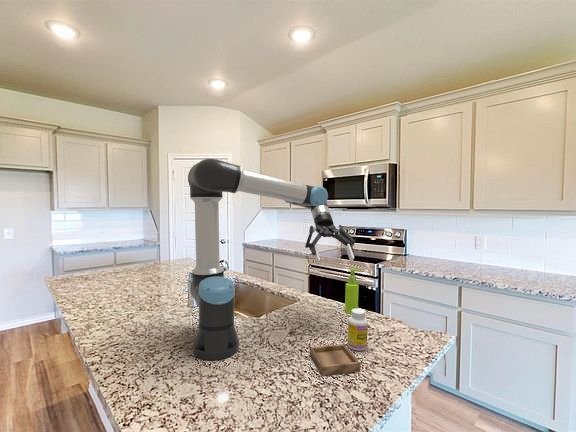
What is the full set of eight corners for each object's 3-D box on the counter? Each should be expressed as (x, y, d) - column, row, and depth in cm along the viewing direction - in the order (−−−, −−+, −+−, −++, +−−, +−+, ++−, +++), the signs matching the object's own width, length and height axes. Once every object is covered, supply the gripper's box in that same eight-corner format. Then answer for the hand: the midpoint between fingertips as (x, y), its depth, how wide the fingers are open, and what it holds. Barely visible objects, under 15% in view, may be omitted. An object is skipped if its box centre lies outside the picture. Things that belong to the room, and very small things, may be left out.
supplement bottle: (356, 353, 99) (357, 315, 98) (343, 344, 105) (344, 309, 104) (371, 349, 102) (372, 312, 101) (358, 341, 108) (359, 306, 107)
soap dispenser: (360, 315, 133) (361, 271, 132) (344, 313, 134) (346, 270, 133) (360, 310, 139) (361, 268, 138) (345, 309, 140) (346, 267, 139)
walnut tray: (322, 375, 86) (322, 367, 86) (309, 354, 97) (309, 347, 97) (360, 371, 88) (360, 363, 88) (343, 351, 100) (343, 344, 100)
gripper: (347, 223, 130) (362, 264, 117) (292, 224, 125) (301, 267, 111) (352, 211, 125) (369, 253, 111) (295, 212, 119) (305, 256, 106)
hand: (335, 260), depth 111 cm, fingers open, 13 cm apart
